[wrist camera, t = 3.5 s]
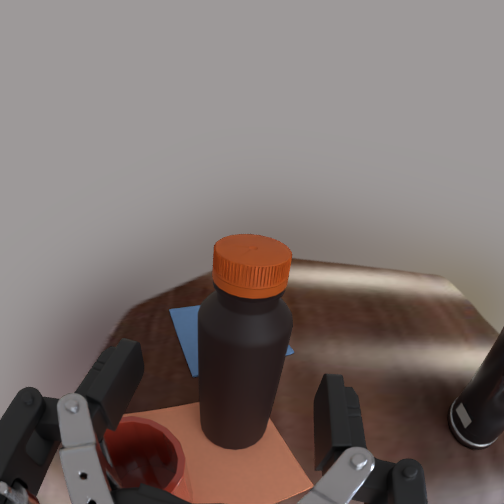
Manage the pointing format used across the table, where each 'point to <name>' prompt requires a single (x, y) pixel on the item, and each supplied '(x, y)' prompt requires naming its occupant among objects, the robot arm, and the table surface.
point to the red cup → (149, 456)
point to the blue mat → (191, 334)
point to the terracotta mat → (232, 462)
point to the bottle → (243, 338)
